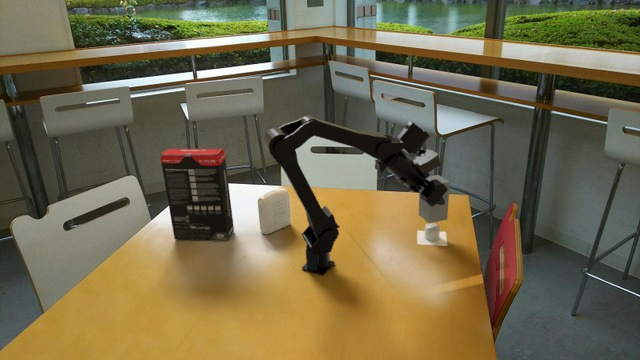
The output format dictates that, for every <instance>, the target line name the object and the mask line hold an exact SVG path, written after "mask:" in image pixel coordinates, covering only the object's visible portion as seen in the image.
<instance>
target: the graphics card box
mask: <svg viewBox="0 0 640 360" xmlns="http://www.w3.org/2000/svg"><path fill="white" fill-rule="evenodd" d="M159 158H160V163H161V169H162V174H163V179H164V184H165V190H166V191H165V192H166V195H167V203H168V208H169V214H170V221H171V225H172V227H171V228H172V232H173V237H174V240H179V241H180V240H182V241H185V240H186V241H187V240H188V241H210V242H212V241H215V242H219V241H220V242H228V241H229V240H230V239H231V237H232V236H233V234H234V232H235V227H234V218H233V211H232V210H233V209H232V203H231V196H230V195H231V194H230V186H229V178H228V168H227V160H226V159H227V158H226V151H225V148H168V149H166V150H164V151H163V152H162V153H160V155H159Z"/></svg>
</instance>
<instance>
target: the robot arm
mask: <svg viewBox="0 0 640 360" xmlns="http://www.w3.org/2000/svg"><path fill="white" fill-rule="evenodd" d="M313 137H316V138H317V137H318V138H321V139H324V140H328V141H332V142H335V143H338V144H341V145H346V146H349V147H352V148H355V149H357V150H359V151H361V152H363V153H365V154H366V155H368V156H370V157H372V158H374V162H375V164H374V169H375V170H376V171H378V172H379V173H381V174H382V173H383V172H385V170H386V169H387V170H388V171H389V172H390V173H391V174H392V175H393V176H394V180H395V181H397V182H398V183H399V184H400V185H402V186H404V187H405V188H406V189H408V190H409V191H413V193H418V194H419V191H420V190H421V189H422V188H421V187H423V188H424V190H423V191H422V192H421V193H420V198H421V199H422V200H423V201H425V202H426V203H427V204H428V205H430V206H431V207H432V206H434V205H435V204H439V205H444V204H445V200H444V198H443V197H442V196H443V195H444V194H445V193H446V191H447V190H448V188H447V187H446V186H445V185H444V184H443V183H442V182H440V181H438V180H437V179H434V180H431V181H428V180H427V179H426V178H428V177H429V176H431V174H430V172H432V171H433V170H435V169H436V168H438V167H441V165H442V160H441V158H440V156H439V153H437V152H436V151H434V150H432V149H428V148H426V149H423V146H425V144H426V143H427V142H428V141H429V140H430V138H431V136H430V134H429V133H428V132H427V131H425V130H424V129H422V128H421V127H419V126H418V125H417V124H416V123H415V122H413V121H411V120H409V121H408V122H407V123H406V124H405V126H404V128H403V129H402V130H401V131H400V132H399V134H397V136H394V135H392V134H382V133H381V132H379V131H376V130H368V129H367V130H366V129H362V130H358V129H357V130H356V129H353V128H350V127H346V126H343V125H339V124H335V123H332V122H330V121H326V120H322V119H320V118H316V117H315V116H314V115H304V116H303V117H301V118H299V119H296V120H294V121H291V122H289V123H286V124H285V123H284V124H283V125H281V126H279V127H273V128H270V129H268V130H266V132H265V134H264V136H263V139H262V143H263V145H264V147H265V148H266V149H267V151H268V153H269V154H270V155H271V156H272V158H273V159H274V160H275V162H277V163H278V165H279V166H280V168H281V169H282V170H283V172H284V174H285V176H286V178H287V179H288V181H289V183H290V184H291V186H292V188H293V190H294V192H295V194H296V196H297V198H298V199H299V201H300V203H301V205H302V206H303V209H304V210H305V213H306V220H307V222H308V226H307V227H306V228H305V230H304V231H303V232H302V233H301V236H302V238H303V240H304V241H305V243H306V246H305V247H306V248H305V259H306V263H305V264H303V266H302V267H301V269H302V271H307V272H309V273H314V274H317V275H320V276H323V275H325V274H326V273H327V272H328V271H329V270H330V269H331V268H332V267H333V266H335V263H336V262H335V261H334V260H330V259H331V257H330V256H331V255H330V253H331V252H332V250H333V247H334V245H335V242H336V240H337V239H338V237H339V235H340V232H339V229H340V227H341V226H340V225H339V224H338V223H337V221H336V219H335V216H334V214H333V213H332V212H331V210H330V209H329V207H327V205H324V206H323V207H321V205H320V202H319V201H318V199H317V197H316V195H315V193H314V192H313V189H312V187H311V186H310V184H309V182H308V180H307V178H306V175H305V174H304V173H303V171H302V168H301V167H300V165H299V160H298V155H297V152H296V150H297V149H299V148H301V147H302V146H303V145H304V144H305V143H306V142H308V141H309V140H310V139H311V138H313ZM403 151H404V152H405V153H406V154H408V155H414V159H411V158H409V156H407V155H406V154H405V153H404V152H403ZM425 183H426V184H427V185H426V184H425Z"/></svg>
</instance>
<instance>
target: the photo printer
mask: <svg viewBox="0 0 640 360" xmlns="http://www.w3.org/2000/svg"><path fill="white" fill-rule="evenodd" d="M290 203H291V202H290V194H289V192H288V190H287V189H285V188H275V189H272V190H269V191H267V192H265V193H264V194H262V195H261V196H260V197H259V198H258V199H257V207H258V208H257V209H258V220H259V229H260V232H261V233H262V234H264V235H268V234H272V233H274V232H276V231H279V230H281V229H283V228H286V227H288V226H290V225H291V224H292V223H291V220H292V219H291V205H290Z"/></svg>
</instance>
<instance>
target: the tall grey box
mask: <svg viewBox="0 0 640 360" xmlns="http://www.w3.org/2000/svg"><path fill="white" fill-rule="evenodd" d="M426 179H427V180H428V181H431V180H434V179H437V180H438V181H440V182H442V183H443V184H444V185H445V186H446V187H447V188H448V190H447V191H446V193H445V194H444V195H443V196H442V197H443V198H444V200H445V204H444V205H439V204H435V205H434V206H432V207H431V206H430V205H428V204H427V203H426V202H425V201H423V200H422V199H421V198H420V193H421V192H422V191H423V190H424V188H423V187H421V188H422V189H421V190H420V191H419V193H418V194H419V195H418V197H419V198H418V216H419V217H420V218H422V219H423V220H425V221H426V222H427V224H430V223H433V224H434V223H437V222H438V223H439V222H443V221H447V220H448V216H449V215H448V213H449V201H450V200H449V198H450V197H449V196H450V184H451V183H450V181H449V180H447V179H446V178H444V177H442V176H441V175H439V174H437V175H430V176H429V177H428V178H426ZM425 184H426V183H425ZM426 185H427V184H426Z"/></svg>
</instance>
